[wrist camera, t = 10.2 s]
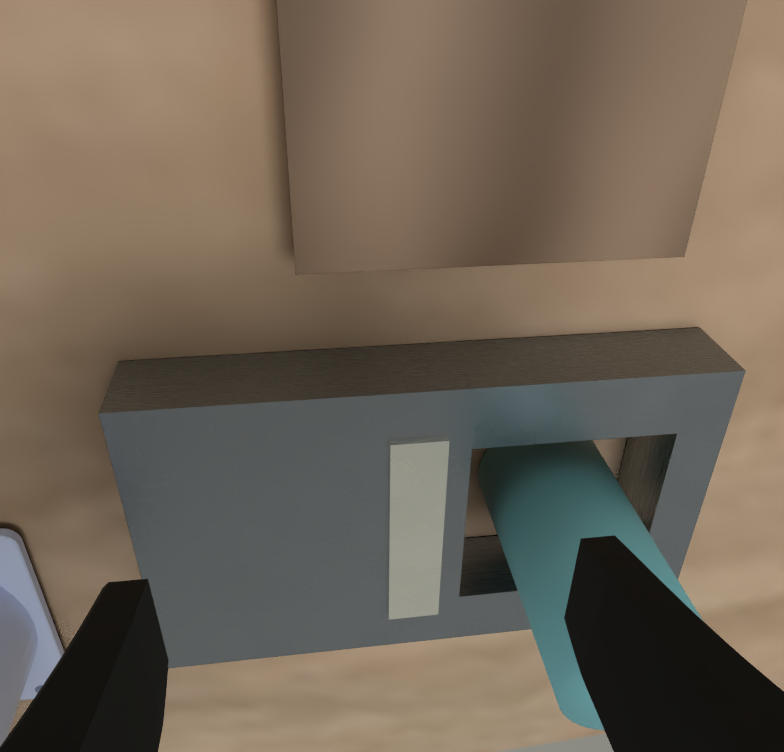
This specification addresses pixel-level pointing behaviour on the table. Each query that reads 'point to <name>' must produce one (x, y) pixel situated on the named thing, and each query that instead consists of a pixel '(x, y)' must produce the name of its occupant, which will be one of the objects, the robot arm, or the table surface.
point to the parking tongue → (498, 128)
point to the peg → (561, 543)
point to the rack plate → (384, 478)
